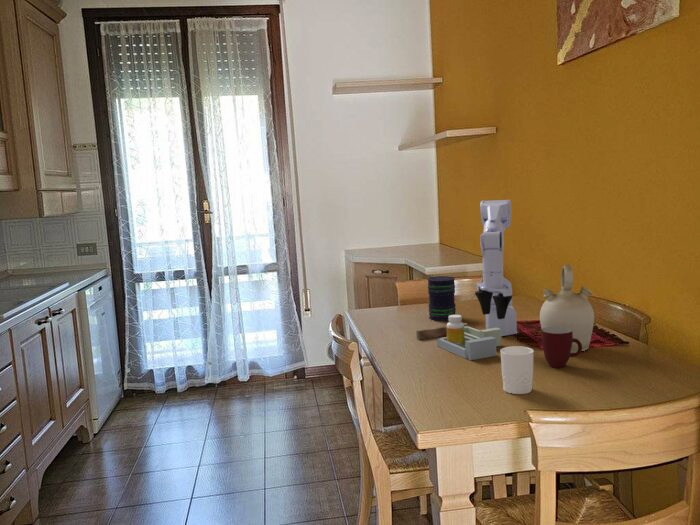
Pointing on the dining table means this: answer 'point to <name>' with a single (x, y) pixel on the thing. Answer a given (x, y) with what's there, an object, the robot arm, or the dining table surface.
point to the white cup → (517, 369)
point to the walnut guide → (433, 332)
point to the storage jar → (441, 297)
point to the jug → (569, 310)
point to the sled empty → (484, 334)
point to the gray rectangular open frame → (471, 347)
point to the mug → (558, 345)
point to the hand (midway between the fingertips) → (493, 316)
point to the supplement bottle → (456, 330)
